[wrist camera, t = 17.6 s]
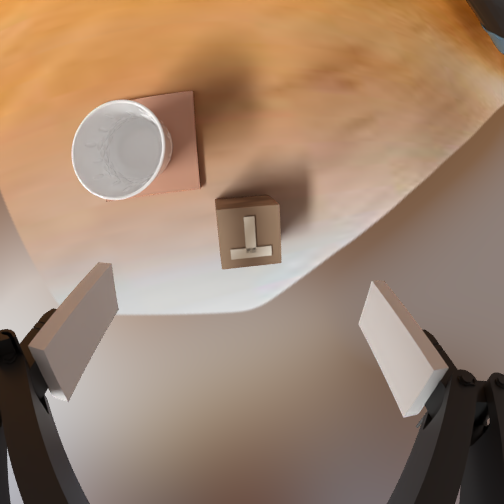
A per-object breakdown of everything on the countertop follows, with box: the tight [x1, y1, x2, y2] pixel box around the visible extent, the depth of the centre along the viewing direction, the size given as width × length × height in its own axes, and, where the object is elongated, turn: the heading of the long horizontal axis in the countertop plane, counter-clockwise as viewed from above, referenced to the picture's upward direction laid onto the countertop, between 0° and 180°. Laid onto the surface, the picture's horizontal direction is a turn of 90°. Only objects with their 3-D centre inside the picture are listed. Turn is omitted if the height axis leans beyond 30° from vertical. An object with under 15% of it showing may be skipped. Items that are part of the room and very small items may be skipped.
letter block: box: [215, 195, 281, 269], centre depth 31 cm, size 6×6×6 cm
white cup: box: [72, 100, 174, 200], centre depth 24 cm, size 8×8×10 cm
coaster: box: [106, 91, 200, 202], centre depth 29 cm, size 11×11×1 cm
